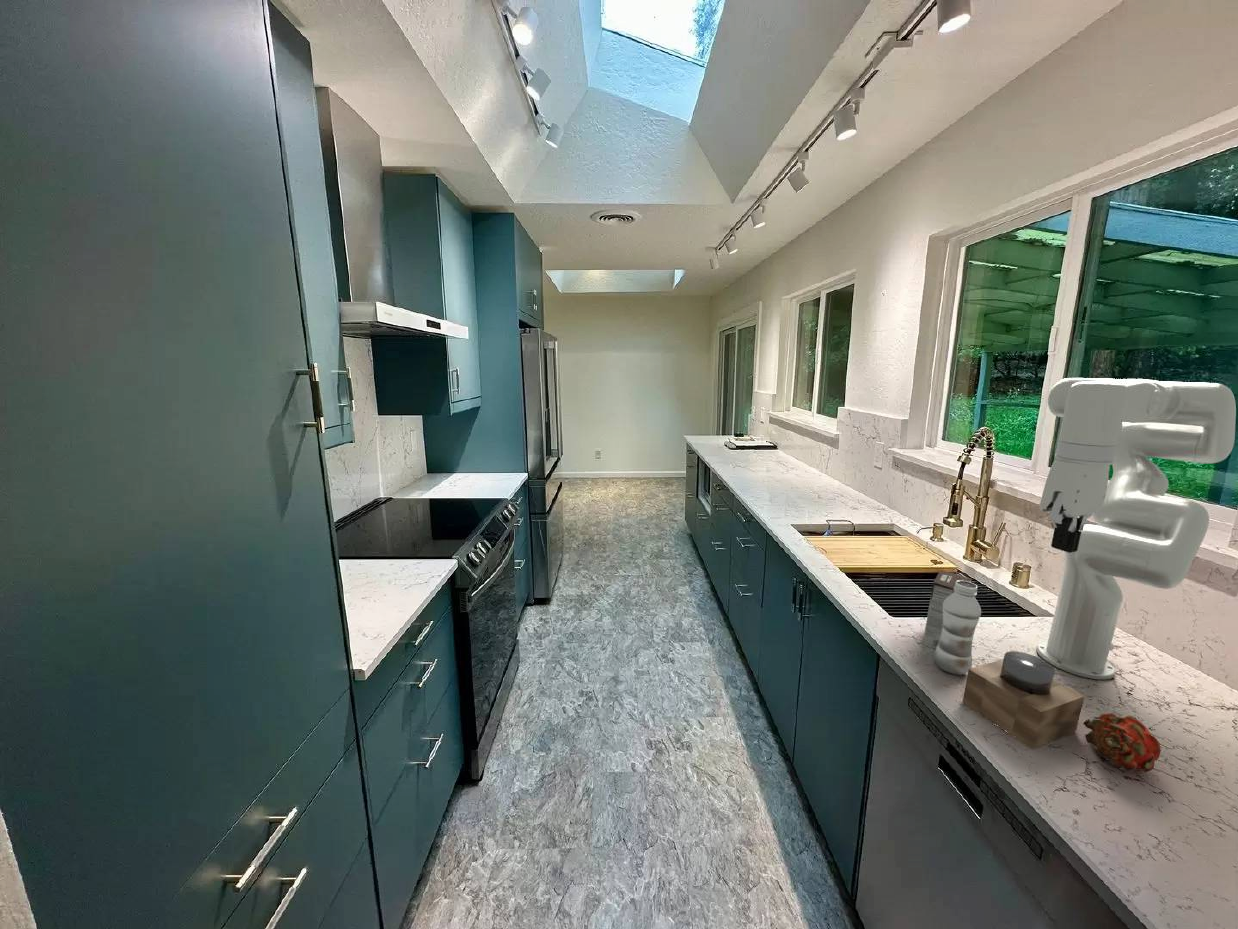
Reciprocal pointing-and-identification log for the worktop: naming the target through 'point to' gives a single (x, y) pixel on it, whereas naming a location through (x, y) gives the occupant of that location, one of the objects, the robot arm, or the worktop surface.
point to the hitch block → (1022, 706)
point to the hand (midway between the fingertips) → (1063, 549)
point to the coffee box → (939, 606)
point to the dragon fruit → (1123, 742)
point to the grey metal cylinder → (1027, 673)
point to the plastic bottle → (958, 629)
